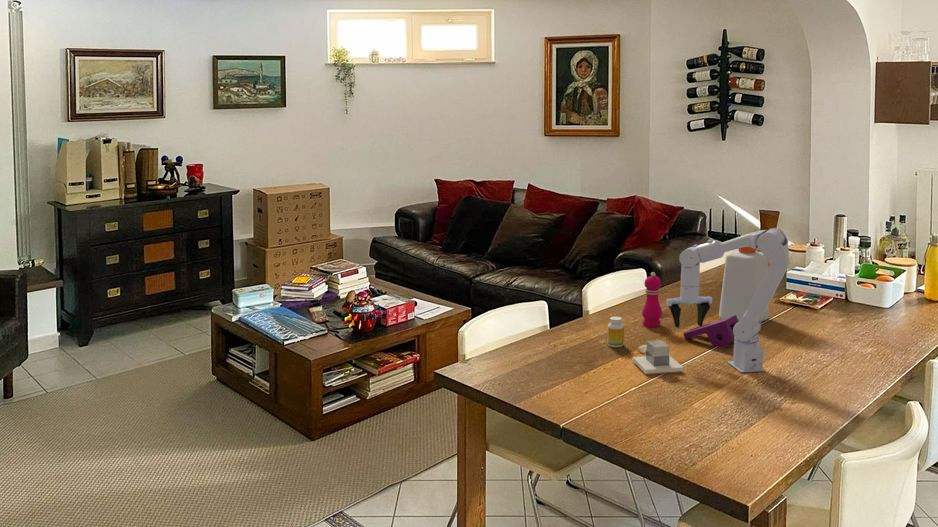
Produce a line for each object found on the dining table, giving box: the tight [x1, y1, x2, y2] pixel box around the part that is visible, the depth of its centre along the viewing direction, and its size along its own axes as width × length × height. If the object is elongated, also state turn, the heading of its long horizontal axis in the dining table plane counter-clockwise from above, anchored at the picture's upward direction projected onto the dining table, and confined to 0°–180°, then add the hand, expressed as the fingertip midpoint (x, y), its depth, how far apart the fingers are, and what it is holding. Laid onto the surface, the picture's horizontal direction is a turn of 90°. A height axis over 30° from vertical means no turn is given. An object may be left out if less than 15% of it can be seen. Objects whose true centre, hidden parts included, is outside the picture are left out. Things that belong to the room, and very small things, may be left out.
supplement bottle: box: [606, 316, 625, 348], centre depth 276 cm, size 5×5×10 cm
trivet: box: [632, 354, 684, 376], centre depth 254 cm, size 12×12×2 cm
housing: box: [645, 339, 671, 366], centre depth 253 cm, size 7×5×6 cm
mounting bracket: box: [682, 315, 739, 349], centre depth 278 cm, size 9×8×18 cm
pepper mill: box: [641, 271, 663, 328], centre depth 296 cm, size 7×7×20 cm
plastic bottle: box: [718, 246, 770, 323], centre depth 301 cm, size 15×15×28 cm
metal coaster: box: [637, 344, 647, 355], centre depth 270 cm, size 9×9×1 cm
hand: (688, 326), depth 261 cm, fingers open, 7 cm apart
